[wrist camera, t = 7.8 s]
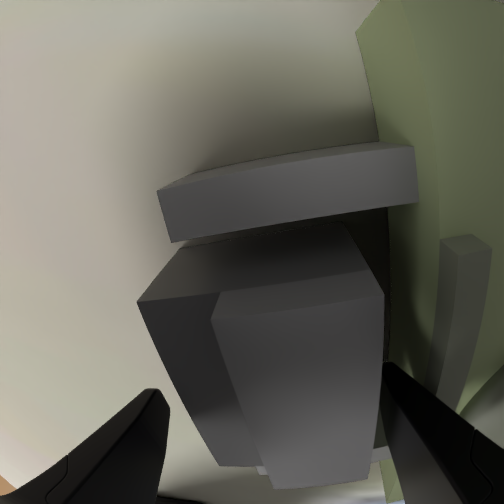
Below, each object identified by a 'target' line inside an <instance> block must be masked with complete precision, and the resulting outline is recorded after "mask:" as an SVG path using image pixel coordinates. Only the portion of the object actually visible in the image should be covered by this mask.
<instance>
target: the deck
mask: <svg viewBox="0 0 504 504" xmlns="http://www.w3.org/2000/svg"><path fill="white" fill-rule="evenodd" d="M355 33H356V36H357V40H358V43H359V47H360V51H361V54H362V58H363V62H364V66H365V70H366V75H367V79H368V83H369V88H370V93H371V97H372V102H373V107H374V113H375V118H376V124H377V130H378V136H379V141H378V142H369V143H360V144H352V145H344V146H337V147H330V148H323V149H316V150H310V151H303V152H297V153H291V154H286V155H280V156H274V157H269V158H264V159H258V160H253V161H248V162H243V163H238V164H234V165H229V166H224V167H220V168H215V169H211V170H206V171H202V172H198V173H194V174H190V175H187V176H185V177H183V178H181V179H179V180H177V181H175V182H173V183H171V184H169V185H167V186H165V187H163V188H161V189H160V190H158V191H157V194H158V198H159V202H160V205H161V209H162V213H163V216H164V220H165V223H166V227H167V230H168V234H169V237H170V240H171V243H173V242H178V241H184V240H189V239H195V238H200V237H206V236H211V235H217V234H222V233H228V232H233V231H239V230H245V229H251V228H256V227H262V226H268V225H274V224H280V223H286V222H292V221H298V220H304V219H310V218H317V217H323V216H329V215H335V214H342V213H348V212H355V211H361V210H368V209H374V208H381V207H387V210H388V224H389V241H390V268H391V313H390V340H389V356H388V362H389V361H391V362H394V363H395V364H396V365H397V366H399V367H400V368H401V369H402V370H404V371H405V372H406V373H407V374H409V375H410V376H411V377H412V378H414V379H415V380H416V381H417V382H419V383H420V384H421V385H422V386H424V387H425V388H426V389H427V390H429V391H430V392H431V393H432V394H434V395H435V396H436V397H437V398H439V399H440V400H441V401H442V402H444V403H445V404H446V405H447V406H449V407H450V408H451V409H452V410H454V411H455V412H456V413H457V414H459V415H460V416H461V417H462V418H464V419H465V420H466V421H467V422H469V423H470V424H471V425H472V426H474V427H475V429H478V430H479V431H480V432H481V433H483V434H484V435H485V436H486V437H488V438H489V439H491V440H492V441H493V442H495V443H496V444H497V445H499V446H500V447H502V448H503V449H504V3H500V2H497V1H494V0H380V2H379V3H378V4H377V5H376V7H375V8H374V9H373V10H372V12H371V13H370V14H369V16H368V17H367V18H366V19H365V21H364V22H363V23H362V25H361V26H360V27H359V28H358V30H357V31H356V32H355ZM378 461H379V462H380V468H381V473H382V479H383V485H384V491H385V497H386V503H391V502H395V501H399V500H403V499H404V497H403V493H402V490H401V486H400V483H399V479H398V476H397V473H396V469H395V466H394V463H393V460H392V456H391V453H390V450H389V447H388V444H387V440H386V437H385V432H384V427H383V421H382V416H381V411H380V406H379V408H378V416H377V424H376V432H375V439H374V446H373V452H372V458H371V463H373V462H378ZM255 467H256V469H257V471H258V473H259V475H268V474H267V472H266V469H265V467H264V466H255Z"/></svg>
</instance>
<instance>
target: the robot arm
mask: <svg viewBox="0 0 504 504" xmlns="http://www.w3.org/2000/svg"><path fill="white" fill-rule="evenodd" d="M379 406H380V411H381V416H382V421H383V427H384V432H385V437H386V440H387V444H388V447H389V450H390V453H391V456H392V460H393V463H394V466H395V469H396V473H397V476H398V479H399V483H400V486H401V490H402V493H403V497H404V500H405V504H504V449H503V448H502V447H500V446H499V445H497V444H496V443H495V442H493V441H492V440H491V439H489V438H488V437H486V436H485V435H484V434H483V433H481V432H480V431H479V430H478V429H475V427H474V426H472V425H471V424H470V423H469V422H467V421H466V420H465V419H464V418H462V417H461V416H460V415H459V414H457V413H456V412H455V411H454V410H452V409H451V408H450V407H449V406H447V405H446V404H445V403H444V402H442V401H441V400H440V399H439V398H437V397H436V396H435V395H434V394H432V393H431V392H430V391H429V390H427V389H426V388H425V387H424V386H422V385H421V384H420V383H419V382H417V381H416V380H415V379H414V378H412V377H411V376H410V375H409V374H407V373H406V372H405V371H404V370H402V369H401V368H400V367H399V366H397V365H396V364H395V363H394V362H391V361H389V362H385V363H382V376H381V388H380V398H379ZM169 419H170V407H169V405H168V403H167V401H166V400H165V398H164V396H163V394H162V393H161V391H160V390H159V389H156V388H148V389H145V390H144V391H142V392H141V393H140V394H139V395H138V396H137V397H135V398H134V399H133V400H132V401H131V402H130V403H128V404H127V405H126V406H125V407H124V408H123V409H121V410H120V411H119V412H118V413H117V414H116V415H114V416H113V417H112V418H111V419H110V420H108V421H107V422H106V423H105V424H104V425H102V426H101V427H100V428H99V429H98V430H96V431H95V432H94V433H93V434H92V435H90V436H89V437H88V438H87V439H86V440H84V441H83V442H82V443H81V444H79V445H78V446H77V447H76V448H75V449H73V450H72V451H71V452H70V453H69V454H68V455H66V456H65V457H63V458H62V459H61V460H60V461H58V462H57V463H56V464H54V465H53V466H52V467H50V468H49V469H48V470H46V471H45V472H43V473H42V474H40V475H39V476H37V477H36V478H34V479H33V480H31V481H29V482H28V483H26V484H25V485H23V486H21V487H20V488H18V489H17V490H15V491H13V492H11V493H9V494H6V495H2V496H0V504H202V503H196V502H187V501H180V500H173V499H166V498H160V497H156V496H157V491H158V486H159V482H160V477H161V473H162V468H163V464H164V459H165V454H166V447H167V437H168V428H169Z"/></svg>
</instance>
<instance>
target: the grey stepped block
mask: <svg viewBox="0 0 504 504" xmlns="http://www.w3.org/2000/svg"><path fill="white" fill-rule="evenodd" d="M137 305H138V307H139V310H140V312H141V314H142V317H143V319H144V322H145V324H146V326H147V329H148V331H149V333H150V336H151V338H152V340H153V342H154V345H155V347H156V349H157V351H158V353H159V356H160V358H161V360H162V362H163V364H164V366H165V368H166V370H167V372H168V375H169V377H170V379H171V381H172V383H173V385H174V387H175V389H176V391H177V393H178V394H179V396H180V398H181V400H182V402H183V404H184V406H185V408H186V410H187V412H188V413H189V415H190V417H191V419H192V421H193V423H194V424H195V426H196V428H197V430H198V431H199V433H200V435H201V437H202V438H203V440H204V442H205V443H206V445H207V447H208V449H209V450H210V452H211V454H212V455H213V457H214V458H215V460H216V462H217V463H218V465H219V466H238V467H247V466H264V467H265V469H266V472H267V474H268V477H269V479H270V481H271V484H272V486H273V488H274V489H293V488H307V487H317V486H326V485H334V484H341V483H348V482H354V481H360V480H365V479H368V474H369V469H370V464H371V458H372V452H373V446H374V439H375V432H376V424H377V416H378V408H379V398H380V388H381V376H382V361H383V341H384V293H383V291H382V289H381V287H380V286H379V284H378V282H377V280H376V278H375V277H374V275H373V273H372V271H371V270H370V268H369V266H368V264H367V263H366V261H365V259H364V257H363V256H362V254H361V252H360V251H359V249H358V247H357V246H356V244H355V242H354V241H353V239H352V237H351V236H350V234H349V232H348V231H347V229H346V227H345V226H344V224H343V223H342V222H336V223H329V224H323V225H317V226H311V227H304V228H298V229H292V230H286V231H280V232H274V233H268V234H262V235H256V236H250V237H244V238H238V239H232V240H226V241H220V242H214V243H209V244H203V245H197V246H191V247H186V248H180V249H179V250H178V251H177V253H176V254H175V255H174V256H173V257H172V259H171V260H170V261H169V262H168V263H167V265H166V266H165V267H164V268H163V269H162V271H161V272H160V273H159V274H158V276H157V277H156V278H155V279H154V281H153V282H152V283H151V284H150V286H149V287H148V288H147V289H146V291H145V292H144V293H143V294H142V296H141V297H140V298H139V299H138V301H137Z"/></svg>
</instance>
